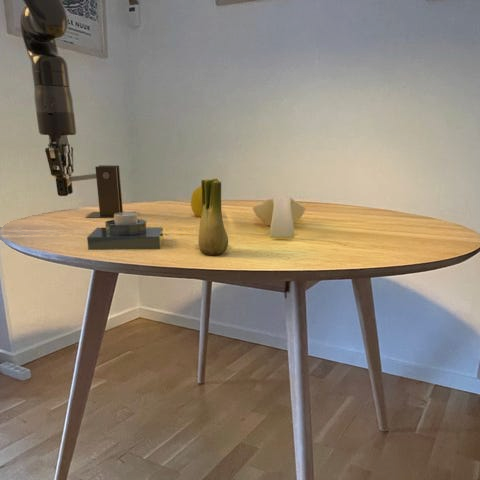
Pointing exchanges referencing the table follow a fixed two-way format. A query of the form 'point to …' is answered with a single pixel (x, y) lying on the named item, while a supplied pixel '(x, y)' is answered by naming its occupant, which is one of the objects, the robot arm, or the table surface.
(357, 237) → the table surface
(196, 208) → the lemon
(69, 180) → the flush lever
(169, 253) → the table surface
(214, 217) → the fennel bulb
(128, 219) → the flush button
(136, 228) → the button block
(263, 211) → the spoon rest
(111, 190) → the lever bracket
